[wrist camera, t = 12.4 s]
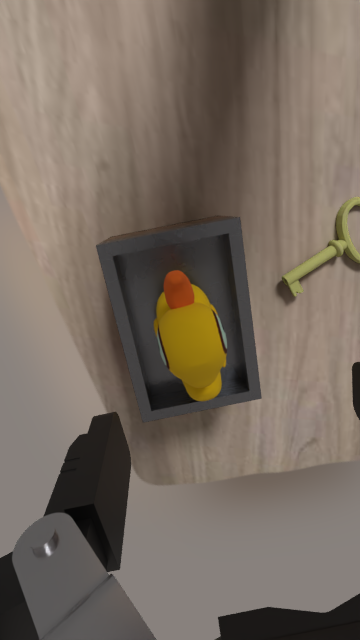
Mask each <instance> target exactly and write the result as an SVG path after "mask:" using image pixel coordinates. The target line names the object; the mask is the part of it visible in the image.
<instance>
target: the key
mask: <svg viewBox="0 0 360 640" xmlns="http://www.w3.org/2000/svg"><path fill="white" fill-rule="evenodd" d="M354 205H357V206H360V197H355V198H352V199H350V200H348V201H347V202H345V203H344V204H343V205H342V206H341V208H340V210H339V211H338V214H337V218H336V231H337V235H338V239H339V240H338V241H335V240H331V241H330V242H329V244H328V245H329V246H328V247H327V248H325V249H324V250H322V251H321V252H319V253H318V254H316V255H315V256H313V257H312V258H310V259H308V260H307V261H305V262H304V263H302V264H301V265H299V266H298V267H296V268H295V269H293V270H292V271H290V272H288V273H287V274H285V275H284V276H282V280H283V282H284V283H285V284H286V285H287V286H288V287H289V289H290V291H291V293H292V295H293V296H294V297H295V296H297V294H296V293H302V292H303V289H302V287H301V285H300V283H299V281H298V279H300V278H301V277H303V276H305V275H306V274H308V273H309V272H311V271H312V270H314V269H315V268H317V267H318V266H320V265H321V264H323V263H325V262H326V261H328V260H329V259H331V258H332V257H334V256H337V257H340V256H342V255H343V250H344V251H345V253H346V254H347V255H348V257H349V258H350V259H352V260H353V261H355V262H357V263H360V254H359V253H358V252H357V251H356V249H355V247H354V246H353V244H352V241H351V239H350V236H349V232H348V227H347V216H348V213H349V211H350V209H351V208H352V207H353V206H354Z"/></svg>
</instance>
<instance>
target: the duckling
mask: <svg viewBox="0 0 360 640" xmlns="http://www.w3.org/2000/svg"><path fill="white" fill-rule="evenodd" d="M156 314H157V318H156V319H155V320H154V331H155V334H156V336H157V342H158V347H159V351H160V354H161V357H162V359H163V361H164V363H165V365H166V366H167V368H168V369H169V370H170V371H171V372H172V373H173V374H174V375H175V376H176V377H178V378H179V379H181V380H182V382H183V384H184V386H185V388H186V390H187V393H188V394H189V396H190V397H191V398H193V399H194V400H196V401H207V400H211V399H213V398H215V397H216V396H217V395H218V394H219V393H220V391H221V387H222V381H221V373H220V370H221V368H222V367H225V366H226V355H227V339H226V334H225V330H224V327H223V325H222V322H221V320H220V319H219V317H218V314H217V311H216V309H215V308H214V306H213V305H211V304H210V302H209V300H208V298H207V296H206V295H205V293H204V292H203V291H202V290H201V289H200V288H199V287H197V286H195V285H193V284H191V283H190V281H189V279H188V278H187V276H186V275H185V274H184V273H183V272H181V271H179V270H175V271H171V272H169V273H168V274H167V275H166V277H165V280H164V292H162V294H161V295H160V297H159V299H158V302H157V307H156Z"/></svg>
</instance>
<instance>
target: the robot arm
mask: <svg viewBox="0 0 360 640" xmlns="http://www.w3.org/2000/svg"><path fill="white" fill-rule="evenodd" d="M352 387H353V406H354V410H355V412H356V414H357V416H358V418H359V420H360V362H356V363H354V364H353V367H352ZM64 461H65V463H63V466H62V468H61V471H60V472H61V473H60V474H59V477H58V479H57V482H56V484H55V487H54V490H53V492H52V495H51V498H50V500H49V503H48V506H47V508H46V512H45V514H44V517H43V518H40V519H39V520H37V521H36V522H34V523H33V524H32V525H31V526H30V527H28V528H27V530H25V532H24V533H23V534H22V535H21V537H20V538H19V540H18V541H17V543H16V545H15V548H14V550H13V552H11V553H9V554H7V555H5V556H3V557H1V558H0V640H156V638H155V637H154V635H153V634H152V632H151V631H150V629H149V628H148V626H147V624H146V623H145V622H144V620H143V618H142V617H141V615H140V614H139V612H138V611H137V609H136V608H135V606H134V605H133V603H132V602H131V600H130V599H129V597H128V596H127V594H126V593H125V591H124V590H123V588H122V587H121V585H120V584H119V582H118V581H117V579H115V577H114V576H113V575H112V574H110V575H109V574H108V573H107V572H110V571H115V570H119V569H120V563H121V554H122V545H123V536H124V526H125V517H126V508H127V499H128V489H129V479H130V470H131V457H130V451H129V447H128V444H127V441H126V438H125V435H124V431H123V428H122V425H121V422H120V419H119V416H118V414H117V413H116V412H112V413H108V414H103V415H98V416H94V417H93V418H92V421H91V425H90V428H89V431H88V433H87V434H82V435H79V436H78V438H77V439H76V440H75V441H74V442H73V444H72V445H71V446H70V447H69V450H68V452H67V455H66V458H65V460H64ZM218 620H219V627H220V634H221V636H220V637H219V638H217V639H215V640H360V594H358V595H356V596H355V597H353V598H351V599H350V600H348V601H347V602H345V603H343V604H341V605H340V606H338V607H336V608H335V609H333V610H331V611H329V612H326V613H319V612H309V611H300V610H291V609H281V608H272V607H266V608H261V609H256V610H251V611H246V612H241V613H236V614H231V615H226V616H221V617H218Z"/></svg>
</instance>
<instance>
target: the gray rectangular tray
mask: <svg viewBox="0 0 360 640" xmlns="http://www.w3.org/2000/svg"><path fill="white" fill-rule="evenodd" d="M96 248H97V252H98V255H99V259H100V263H101V267H102V270H103V274H104V278H105V282H106V285H107V289H108V293H109V297H110V301H111V304H112V308H113V312H114V316H115V319H116V323H117V327H118V331H119V334H120V338H121V342H122V346H123V349H124V353H125V357H126V361H127V365H128V368H129V372H130V376H131V380H132V383H133V387H134V391H135V395H136V398H137V402H138V406H139V410H140V414H141V417H142V421H143V422H148V421H153V420H158V419H163V418H168V417H173V416H178V415H183V414H187V413H192V412H197V411H202V410H207V409H212V408H217V407H222V406H227V405H232V404H237V403H242V402H247V401H251V400H256V399H261V389H260V381H259V373H258V364H257V356H256V347H255V339H254V331H253V322H252V314H251V305H250V297H249V289H248V280H247V272H246V263H245V255H244V247H243V238H242V230H241V222H240V217H230V216H214V217H209V218H204V219H199V220H194V221H189V222H184V223H179V224H174V225H169V226H164V227H159V228H154V229H148V230H143V231H138V232H133V233H128V234H123V235H118V236H113V237H110V238H108V239H107V240H105V241H103V242H101V243H99V244H98V245H96ZM175 270H179V271H181V272H183V273H184V274H185V275H186V276H187V278H188V279H189V281H190V283H191V284H193V285H195V286H197V287H199V288H200V289H201V290H202V291H203V292H204V293H205V295H206V296H207V298H208V300H209V302H210V304H211V305H213V306H214V308H215V309H216V311H217V314H218V317H219V319H220V320H221V322H222V325H223V327H224V330H225V334H226V339H227V355H226V366H225V367H222V368H221V370H220V373H221V381H222V387H221V391H220V393H219V394H218V395H217V396H216V397H215V398H213V399H211V400H207V401H196V400H194V399H193V398H191V397H190V396H189V394H188V393H187V390H186V388H185V386H184V384H183V382H182V380H181V379H179V378H178V377H176V376H175V375H174V374H173V373H172V372H171V371H170V370H169V369H168V368H167V366H166V365H165V363H164V361H163V359H162V357H161V354H160V351H159V347H158V342H157V336H156V334H155V331H154V320H155V319H156V318H157V314H156V307H157V302H158V299H159V297H160V295H161V294H162V292H164V280H165V277H166V275H167V274H168V273H169V272H171V271H175Z"/></svg>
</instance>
